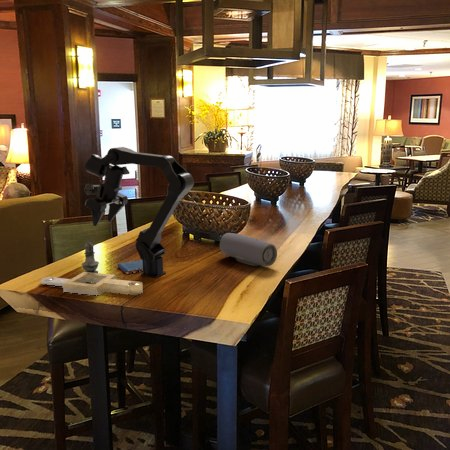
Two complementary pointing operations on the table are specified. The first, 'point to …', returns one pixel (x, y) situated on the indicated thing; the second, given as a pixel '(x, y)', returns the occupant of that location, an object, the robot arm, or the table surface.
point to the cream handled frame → (60, 283)
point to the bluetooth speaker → (248, 249)
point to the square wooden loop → (104, 284)
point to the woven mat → (131, 266)
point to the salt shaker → (90, 259)
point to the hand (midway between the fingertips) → (102, 223)
